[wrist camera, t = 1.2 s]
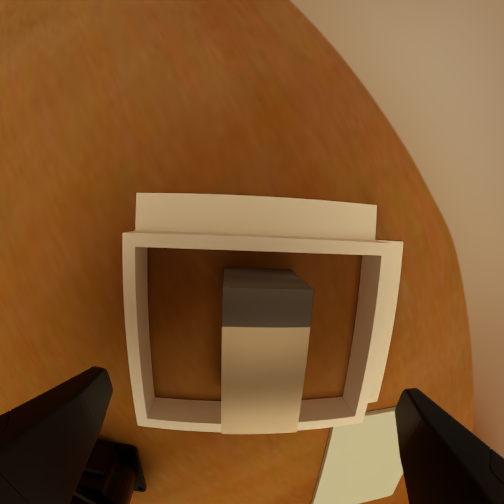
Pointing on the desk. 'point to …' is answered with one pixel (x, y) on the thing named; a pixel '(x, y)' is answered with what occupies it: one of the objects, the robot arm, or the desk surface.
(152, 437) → the desk surface
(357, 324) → the white rectangular frame
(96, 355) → the desk surface
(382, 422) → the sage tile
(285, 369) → the box
